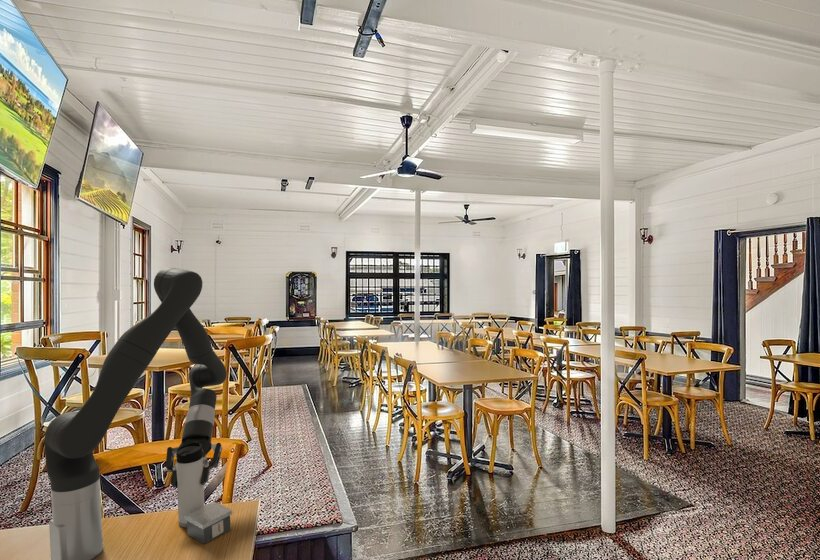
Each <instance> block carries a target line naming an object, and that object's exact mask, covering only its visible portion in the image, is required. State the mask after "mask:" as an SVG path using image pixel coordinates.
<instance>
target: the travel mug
mask: <svg viewBox="0 0 820 560" xmlns="http://www.w3.org/2000/svg"><path fill="white" fill-rule="evenodd" d="M178 447H179V446H178ZM175 457H176V458H175V459H176V460H175V461H176V462H175V464H176V463H177V464H176V467H177V489H176V490H177V511H178V512H177V514H178V525H179V526H180V527H182V528H187V521H186V520H185V519H184V516H185V515H187V514H189V513H191V512H193V511H195V510H197V509H199V508H201V507H203V506H205V505H206V504H205V485H202V484H201V477H202V471H203V468H204V465H203V456H202V445H201V444H200V443H199V442H192V443H189V444H186V445H183V446H181V447H179V448H178V449H177V451H176V456H175Z"/></svg>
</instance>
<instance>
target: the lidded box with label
mask: <svg viewBox="0 0 820 560" xmlns="http://www.w3.org/2000/svg"><path fill="white" fill-rule="evenodd" d="M204 505H205V506H203V507H201V508H199V509H197V510H195V511H193V512H191V513H189V514H187V515H185V516H184V519H185V520H186V521H187V527H186V528H187V531H186V532H187V536H188V537H190V536H191V538H192V539H194V540H196V541H197V540H198V541H197V542H199V543H201V544H203V545H206V544H207V543H210V542H211V541H212V540H215V539H216V538H218V537H220V536H222V535H224V534H225V533H227V532H229V531H231V530H232V529H231V515H233V509H231V508H228V507H227V506H225V505H222V504H221V503H218V502H216V501H212V502H210V503H207V504H204ZM223 533H224V534H223Z"/></svg>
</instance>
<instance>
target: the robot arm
mask: <svg viewBox="0 0 820 560" xmlns="http://www.w3.org/2000/svg"><path fill="white" fill-rule="evenodd" d="M203 283H204V282H203V279H202V276H201V275H199V273H198V272H195V271H192V270H188V269H183V268H176V267H164V268H161V270H159V271H158V272H157V273H156V275H155V276H154V278H153V289H154V291H155V294H156V295H157V297H158V299H159V301H160V302H161V303H160V304H159V305H158V307H157V308H156V309H155V310H154V311H153V312H152V313H150V314H149V315H148V316H146V317H144V318H143V319H142V320H140V321H138V322H137V323H136V324H134V325H132V326H131V327H130V328H128V329H127V330H126V331H125V332H124V333H123V334H122V335H121V336H120V337H119V339H118V340H117V341H116V342H115V344H114V345H113V347H112V348H111V349H110V351H109V352H108V353H107V356H105V359H104V362H103V364H102V366H101V369H100V372H99V376H98V379H97V381H96V384H95V387H94V388H93V391H92V393H91V394H90V396H89V398H88V399H87V400H86V401H85V403H84V404H83V405H82V407H81V408H80V409H79V411H68V412H64V413H61V414H59V415H57V416H56V417H55V418H53V419H52V420H51V421H50V423H49V424H48V426H46V429H45V433H44V440H43V441H44V455H45V457H44V458H45V464H46V465H45V467H46V473H47V476H48V479H49V481H50V497H51V517H52V518H51V519H50V520H49V521H48V525H49V526H48V527H49V528H48V529H49V547H50V548H49V549H50V560H93V559H94V558H95V557H97V556H99V555H100V554H101V553H102V551H103V549H104V543H103V542H104V539H103V519H102V497H101V496H102V495H101V475H100V466H99V464H98V462H97V461H96V458H95V456H94V453H93V452H94V451H95V450H96V449H97V447H98V446H99V445H100V444H101V442H102V441H103V439H104V437H105V436H106V434H107V432H108V430H109V428H110V426H111V425H112V422H113V420H114V419H115V417H116V415H117V413H118V412H119V410H120V408H121V406H122V405H123V403H124V401H125V400H126V399H127V397H128V396H129V395H130V394H131V392H132V390H133V388H134V387H135V385H136V384H137V383H138V381H139V380H140V378H141V376H142V375H143V374H144V373H145V371H146V369H147V368H148V367H149V365H150V363H151V362H152V361H153V359H154V358H155V356H156V354H157V352H158V351H159V350H160V348H161V347H162V345H163V344H164V342H165V341H166V340H167V338H168V337H169V335H170V334H171V332H172V331H173V329H174V328H175V329H176V330H177V333H178V335H179V336H180V339H181V342H182V345H183V347H184V350H185V353H186V356H187V359H188V360H189V362H190V363H192V364H194V365H193V366H192V367H191V368H190V369H189V371H188V372H189V373H188V382H189V387H190V400H189V405H188V410H187V414H186V417H185V422H184V425H183V426H184V427H183V431H182V438H181V443H180V444H179V446H177V447H172V446H169V447H167V448H166V459H165V469H166V470H167V472H168V473H171V477H170V485H171V486H172V487H173V489H176V488H177V467H176V464H177V463H176V462H175V464H174V461H175V459H174V458H175V457H176V451H177V449H178V448H179V447H181V446H183V445H186V444H189V443H192V442H199V443H200V444H201V445H202V456H203V471H202V477H201V484H202V485H204V486H205V485H206V483H208V482H209V479H210V478H209V477H210V472H211V470H212V469H217V467H218V466H219V462H220V459H221V455H222V451H223V445H222V444H221V442H217V443H212V438H213V431H214V426H215V417H216V416H215V412H216V406H217V405H216V404H217V398H218V396H217V393H216V392H215V391H216V390H213V389H211V388H206V387H214V386H220V385H222V384H223V383H225V381H226V379H227V373H228V371H227V369H226V366H225V364H224V362H223V361H222V360H221V359H220V358H219V356H218V355H217V353H216V352H215V350H214V349H213V345H212V344H211V340H210V337H209V335H208V332H207V331H206V329H205V327H204V326H203V325H202V323H201V321H200V320H199V319H198V317H196V315H195V313H193V311H192V310H191V307H192V306H193V305H194V304H195V302H196V301H197V299H198V298H199V296H200V294H201V292H202V291H203ZM211 451H212V452H213V456H212V459H211V461H210V462H209V460H208V457H207V455H208V453H210V452H211Z"/></svg>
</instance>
